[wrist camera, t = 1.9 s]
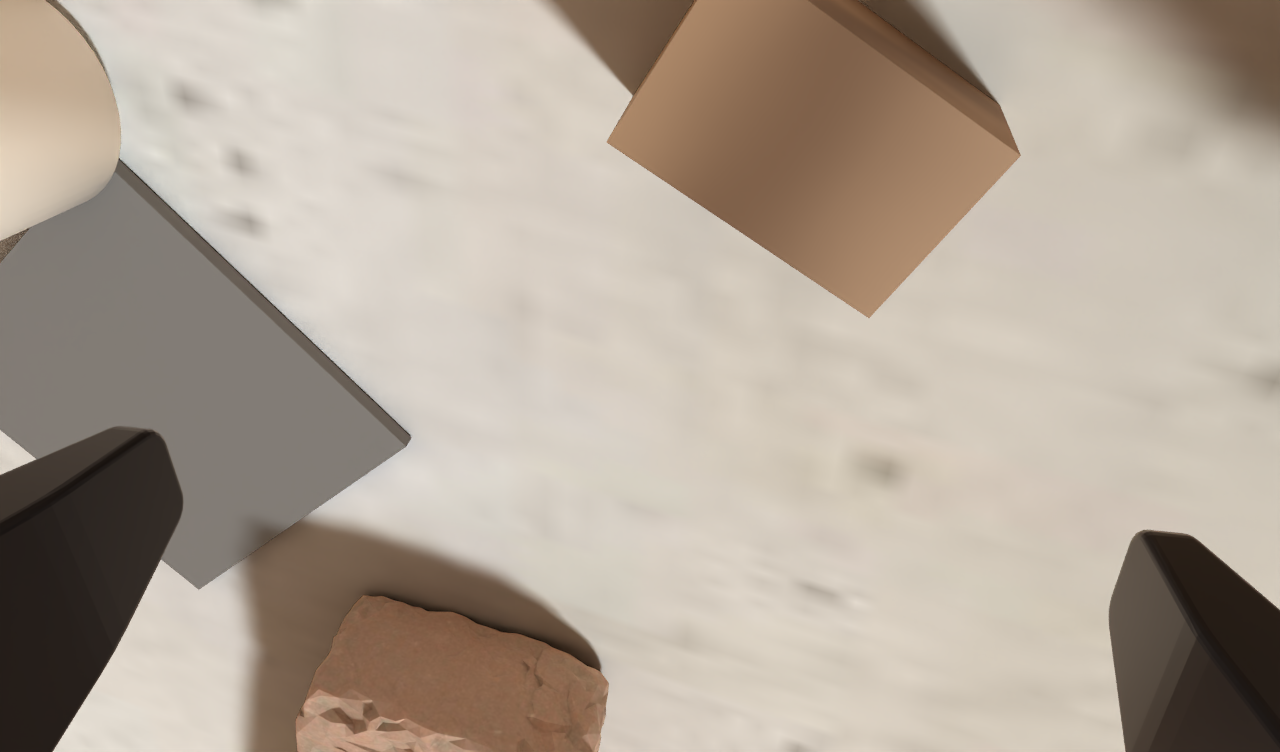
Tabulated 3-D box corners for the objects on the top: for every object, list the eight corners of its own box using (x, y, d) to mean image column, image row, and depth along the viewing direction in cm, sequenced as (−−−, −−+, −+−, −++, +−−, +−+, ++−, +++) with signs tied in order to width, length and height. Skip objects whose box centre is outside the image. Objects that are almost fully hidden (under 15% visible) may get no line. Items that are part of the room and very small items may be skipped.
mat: (411, 437, 26) (406, 446, 26) (205, 580, 31) (198, 589, 31) (105, 146, 23) (94, 152, 23) (-74, 354, 28) (-85, 361, 27)
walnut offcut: (998, 101, 19) (1020, 155, 17) (866, 250, 22) (869, 318, 19) (747, -84, 18) (732, -55, 16) (635, 92, 21) (606, 142, 18)
